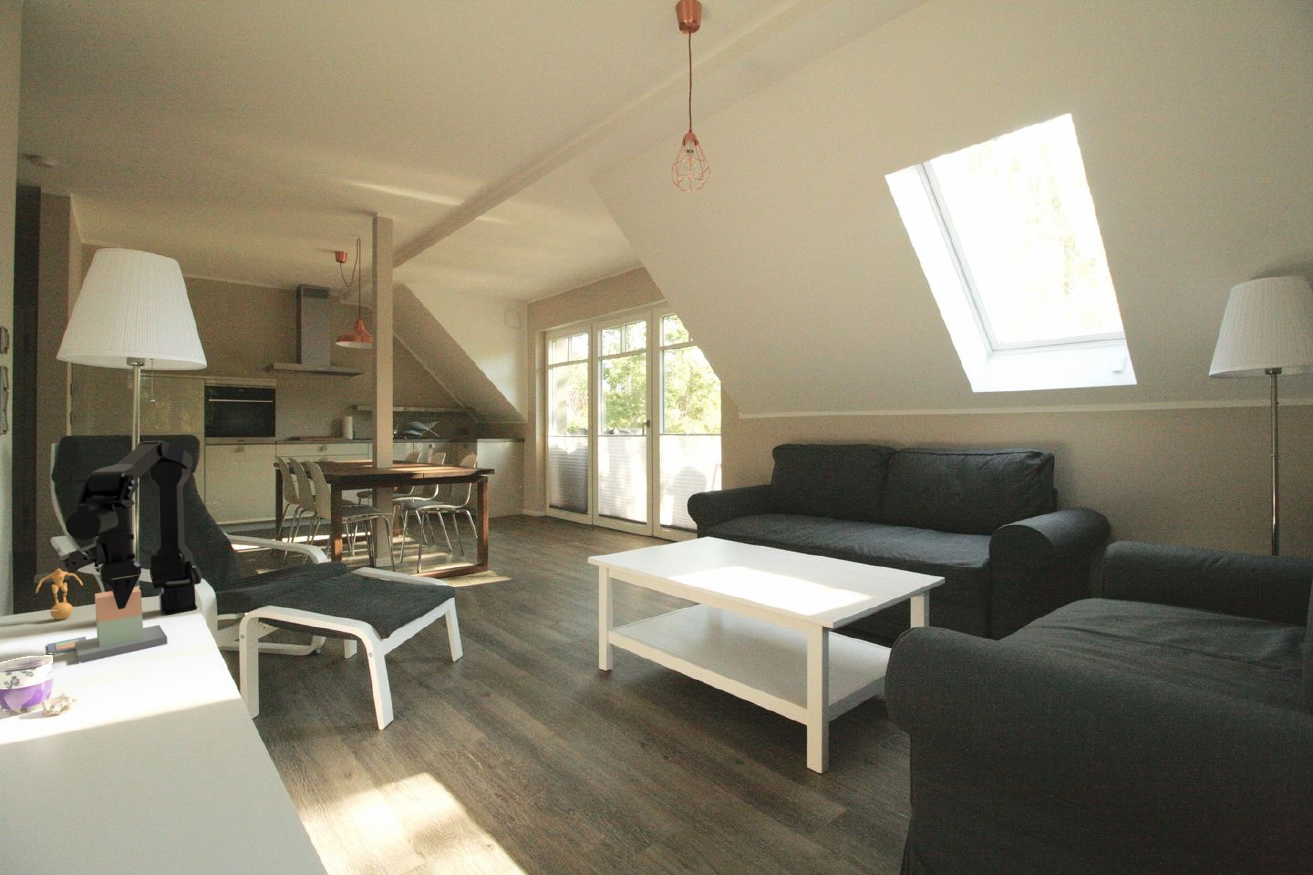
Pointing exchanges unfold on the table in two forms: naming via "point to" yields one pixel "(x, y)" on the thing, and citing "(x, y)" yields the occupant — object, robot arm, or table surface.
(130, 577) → the robot arm
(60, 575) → the figurine
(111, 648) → the base plate
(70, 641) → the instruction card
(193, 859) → the table surface
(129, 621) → the sage brick
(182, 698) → the table surface
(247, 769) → the table surface
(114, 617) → the terracotta brick
